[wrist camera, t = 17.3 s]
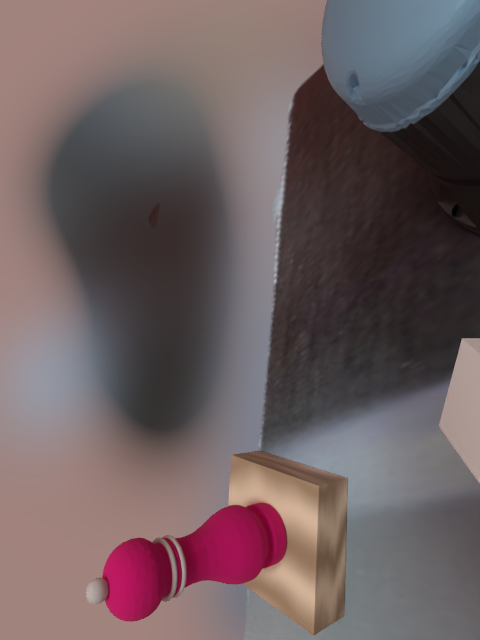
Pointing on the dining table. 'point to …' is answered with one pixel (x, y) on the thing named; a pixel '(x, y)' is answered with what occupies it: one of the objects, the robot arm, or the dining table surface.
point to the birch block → (298, 535)
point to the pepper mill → (189, 560)
